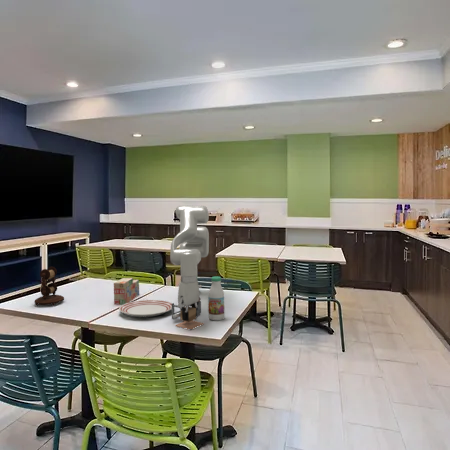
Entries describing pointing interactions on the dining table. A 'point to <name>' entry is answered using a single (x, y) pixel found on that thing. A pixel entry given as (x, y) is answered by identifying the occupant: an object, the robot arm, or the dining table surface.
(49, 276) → the wooden spool stand
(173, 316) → the plunger
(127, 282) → the stack of blocks
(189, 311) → the cube
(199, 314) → the cage
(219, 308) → the milk bottle
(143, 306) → the dinner plate
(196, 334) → the dining table surface
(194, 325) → the coaster
